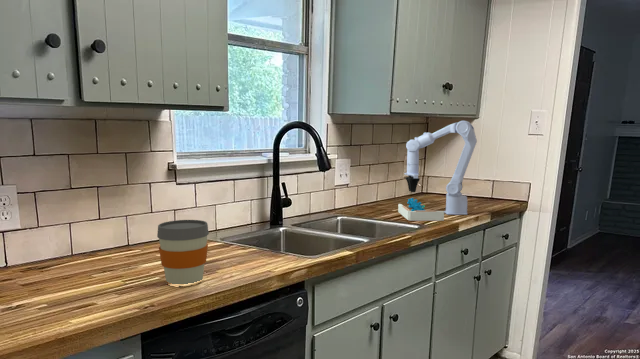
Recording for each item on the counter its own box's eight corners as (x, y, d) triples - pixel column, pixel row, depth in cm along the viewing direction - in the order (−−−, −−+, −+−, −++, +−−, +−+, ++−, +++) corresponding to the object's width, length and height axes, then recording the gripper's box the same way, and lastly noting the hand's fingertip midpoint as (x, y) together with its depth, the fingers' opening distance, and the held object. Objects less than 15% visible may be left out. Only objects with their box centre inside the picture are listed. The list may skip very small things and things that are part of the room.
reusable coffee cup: (191, 271, 126) (190, 217, 125) (219, 280, 118) (218, 223, 117) (149, 282, 117) (147, 224, 115) (176, 293, 109) (175, 231, 107)
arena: (430, 211, 223) (430, 203, 222) (443, 220, 200) (444, 210, 200) (398, 211, 222) (398, 203, 222) (408, 220, 200) (408, 211, 199)
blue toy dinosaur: (415, 213, 209) (405, 196, 214) (407, 221, 212) (398, 204, 218) (431, 214, 215) (421, 197, 221) (423, 221, 219) (414, 205, 224)
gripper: (401, 163, 231) (401, 189, 233) (408, 165, 217) (407, 193, 218) (415, 163, 231) (414, 189, 233) (422, 165, 217) (422, 193, 218)
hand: (412, 191), depth 226 cm, fingers open, 3 cm apart
